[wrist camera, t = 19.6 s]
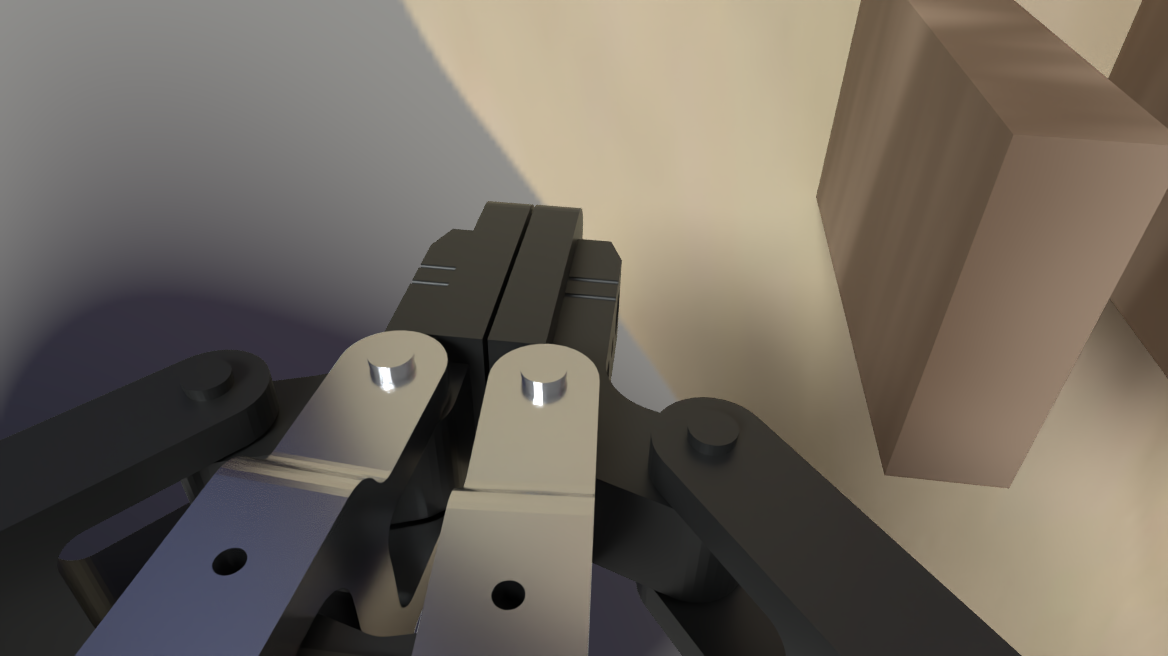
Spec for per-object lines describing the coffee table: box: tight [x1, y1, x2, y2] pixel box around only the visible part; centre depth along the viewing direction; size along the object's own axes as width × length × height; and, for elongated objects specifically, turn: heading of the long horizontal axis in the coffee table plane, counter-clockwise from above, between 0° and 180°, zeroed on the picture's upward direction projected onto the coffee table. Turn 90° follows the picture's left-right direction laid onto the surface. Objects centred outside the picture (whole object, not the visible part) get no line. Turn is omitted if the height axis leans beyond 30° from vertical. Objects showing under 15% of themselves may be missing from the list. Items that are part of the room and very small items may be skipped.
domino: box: [816, 0, 1168, 488], centre depth 15 cm, size 2×6×10 cm, turn 179°
